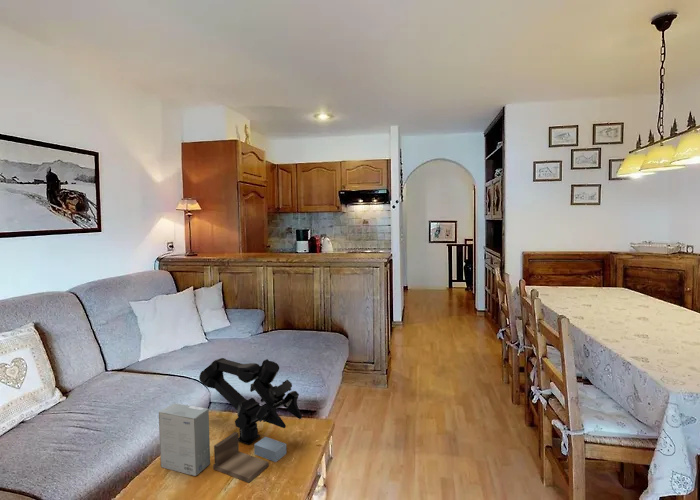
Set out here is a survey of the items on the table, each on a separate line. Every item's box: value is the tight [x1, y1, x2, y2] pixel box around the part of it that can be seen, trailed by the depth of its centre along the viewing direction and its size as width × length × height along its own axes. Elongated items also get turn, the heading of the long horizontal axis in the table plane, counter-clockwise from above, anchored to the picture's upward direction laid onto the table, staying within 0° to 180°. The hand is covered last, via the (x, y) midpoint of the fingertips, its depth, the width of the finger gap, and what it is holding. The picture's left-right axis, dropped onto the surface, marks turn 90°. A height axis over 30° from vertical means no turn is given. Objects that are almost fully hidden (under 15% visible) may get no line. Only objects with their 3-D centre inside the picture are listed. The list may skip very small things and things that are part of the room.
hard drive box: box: [158, 403, 211, 477], centre depth 135 cm, size 16×8×20 cm, turn 71°
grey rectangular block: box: [253, 436, 287, 463], centre depth 142 cm, size 10×6×4 cm, turn 61°
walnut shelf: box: [212, 431, 270, 483], centre depth 134 cm, size 16×10×8 cm, turn 63°
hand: (293, 422), depth 139 cm, fingers open, 9 cm apart
